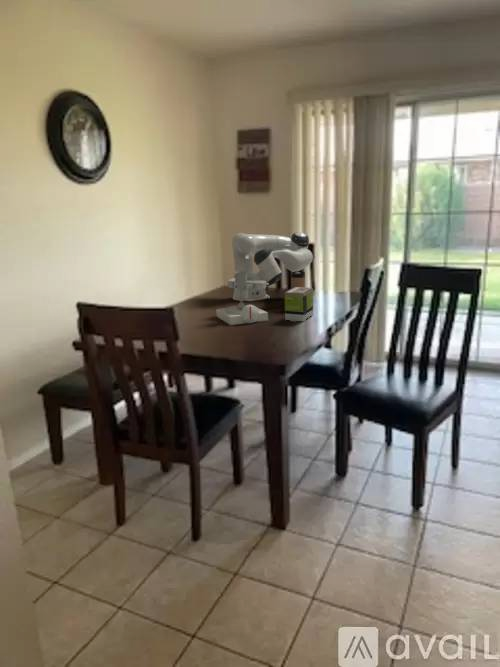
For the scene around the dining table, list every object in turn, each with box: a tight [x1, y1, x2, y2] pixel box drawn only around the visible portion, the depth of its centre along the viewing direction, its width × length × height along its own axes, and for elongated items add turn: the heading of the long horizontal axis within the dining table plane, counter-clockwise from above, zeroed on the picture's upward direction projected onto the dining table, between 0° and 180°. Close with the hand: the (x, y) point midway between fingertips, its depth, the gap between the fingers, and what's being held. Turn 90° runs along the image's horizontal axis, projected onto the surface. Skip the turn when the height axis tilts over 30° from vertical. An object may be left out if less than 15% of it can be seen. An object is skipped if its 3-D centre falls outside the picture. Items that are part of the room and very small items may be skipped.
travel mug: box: [290, 270, 306, 289], centre depth 271 cm, size 8×8×20 cm
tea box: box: [284, 286, 314, 322], centre depth 250 cm, size 15×10×15 cm
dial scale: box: [216, 304, 269, 326], centre depth 252 cm, size 20×22×9 cm
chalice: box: [233, 271, 247, 309], centre depth 250 cm, size 7×7×18 cm
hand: (240, 286), depth 249 cm, fingers closed on chalice, 5 cm apart
